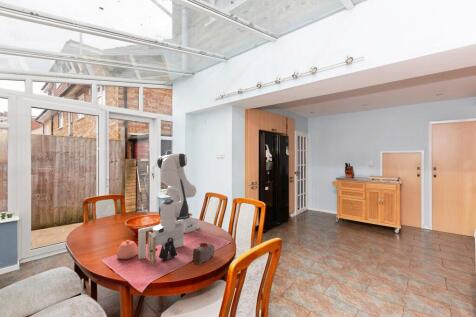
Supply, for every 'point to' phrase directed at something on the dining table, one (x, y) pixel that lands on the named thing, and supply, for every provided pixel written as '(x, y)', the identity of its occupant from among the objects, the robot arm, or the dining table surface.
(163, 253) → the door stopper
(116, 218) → the dining table surface
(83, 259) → the dining table surface
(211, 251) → the dark grey block
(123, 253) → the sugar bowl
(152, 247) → the door
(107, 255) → the dining table surface
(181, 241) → the wall frame
